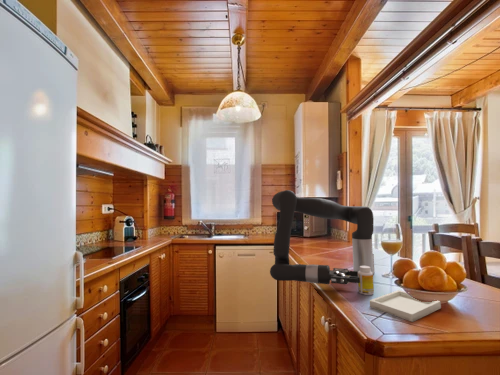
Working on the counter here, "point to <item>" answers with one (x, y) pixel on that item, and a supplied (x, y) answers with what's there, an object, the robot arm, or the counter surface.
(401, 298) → the tray
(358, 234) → the robot arm
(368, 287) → the supplement bottle
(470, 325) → the counter surface
